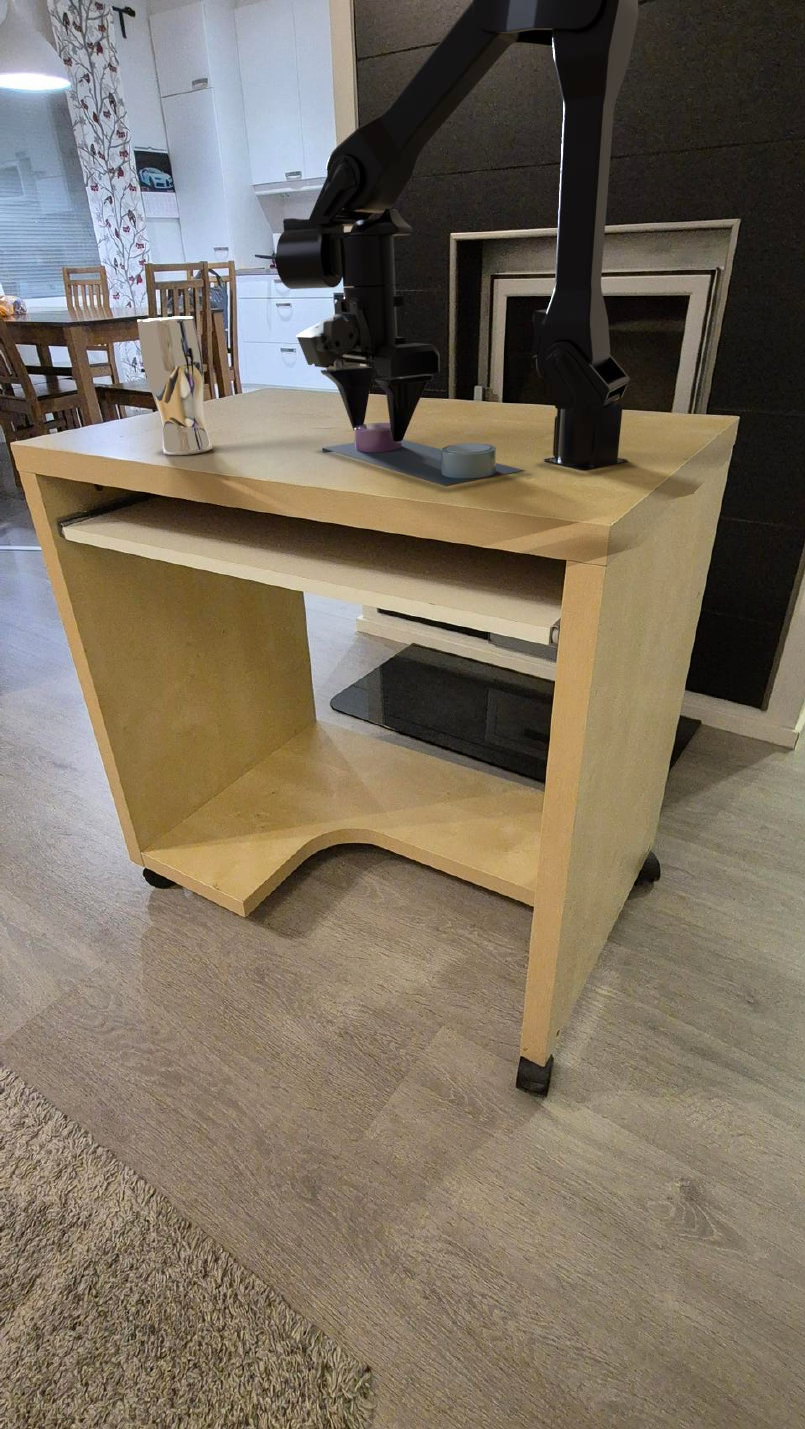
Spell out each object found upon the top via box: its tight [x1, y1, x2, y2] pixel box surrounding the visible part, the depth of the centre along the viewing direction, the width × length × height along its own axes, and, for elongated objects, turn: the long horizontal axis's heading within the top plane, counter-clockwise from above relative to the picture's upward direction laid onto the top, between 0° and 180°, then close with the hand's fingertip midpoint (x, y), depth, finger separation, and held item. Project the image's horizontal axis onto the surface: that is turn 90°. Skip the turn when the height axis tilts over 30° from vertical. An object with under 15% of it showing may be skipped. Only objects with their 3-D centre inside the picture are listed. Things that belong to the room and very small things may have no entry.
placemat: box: [321, 439, 525, 487], centre depth 87 cm, size 26×10×1 cm, turn 33°
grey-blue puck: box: [440, 442, 497, 479], centre depth 79 cm, size 6×6×2 cm
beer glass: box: [137, 316, 213, 456], centre depth 94 cm, size 7×7×15 cm
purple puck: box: [353, 422, 402, 452], centre depth 92 cm, size 6×6×2 cm
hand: (377, 436), depth 92 cm, fingers open, 9 cm apart
